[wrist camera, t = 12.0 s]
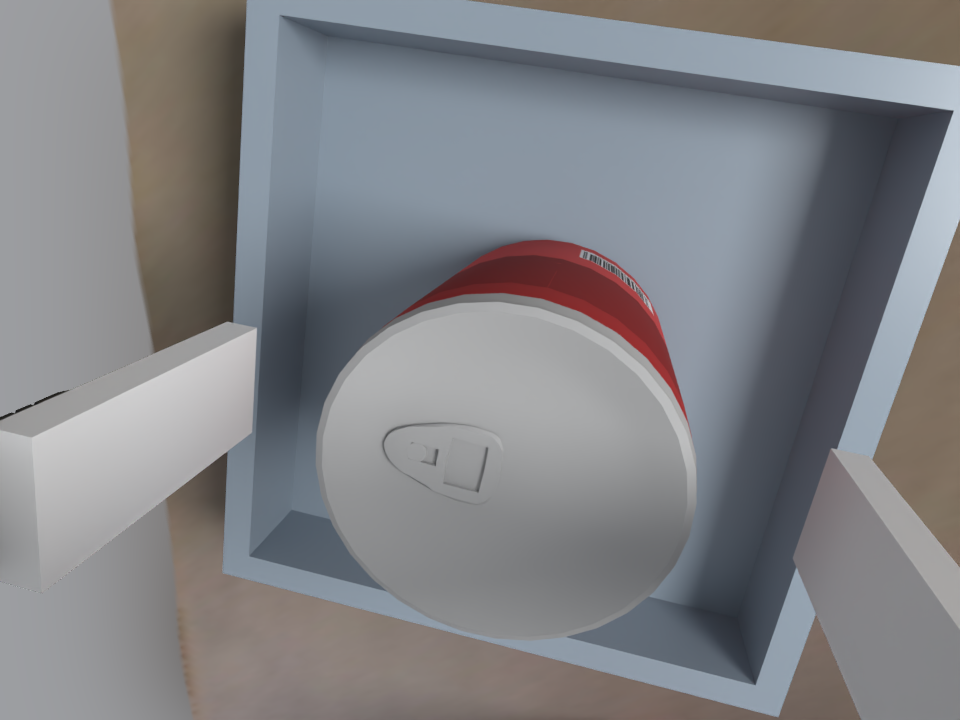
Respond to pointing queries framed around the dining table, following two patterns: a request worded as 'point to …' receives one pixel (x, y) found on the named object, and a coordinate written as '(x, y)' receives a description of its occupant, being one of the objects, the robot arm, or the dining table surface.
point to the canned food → (514, 447)
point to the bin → (614, 234)
